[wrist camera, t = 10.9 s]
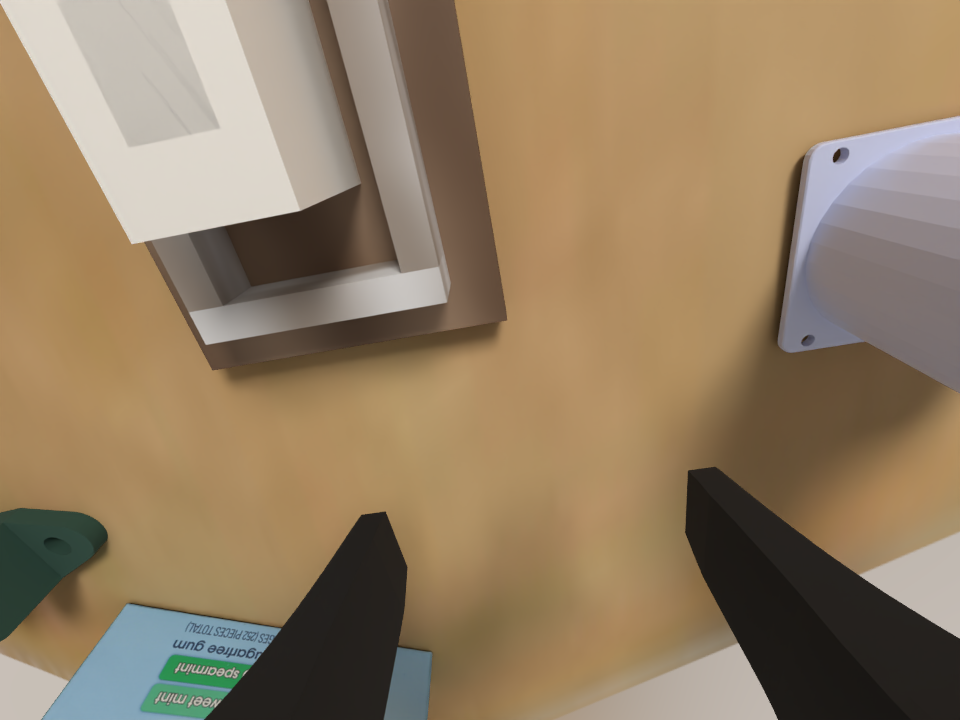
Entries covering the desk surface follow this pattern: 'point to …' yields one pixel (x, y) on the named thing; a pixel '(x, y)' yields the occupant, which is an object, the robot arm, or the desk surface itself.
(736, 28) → the desk surface
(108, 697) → the gum box
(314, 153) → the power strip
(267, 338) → the cradle
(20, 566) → the mount
